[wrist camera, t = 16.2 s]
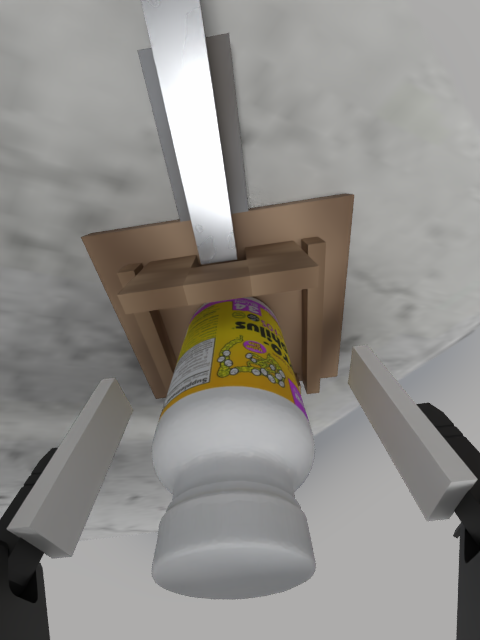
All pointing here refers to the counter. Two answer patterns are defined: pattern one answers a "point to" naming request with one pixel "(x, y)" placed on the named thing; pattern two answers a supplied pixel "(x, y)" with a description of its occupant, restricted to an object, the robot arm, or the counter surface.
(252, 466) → the supplement bottle
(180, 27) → the lock pin
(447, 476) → the robot arm
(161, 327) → the dock
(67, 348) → the counter surface
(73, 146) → the counter surface
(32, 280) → the counter surface
